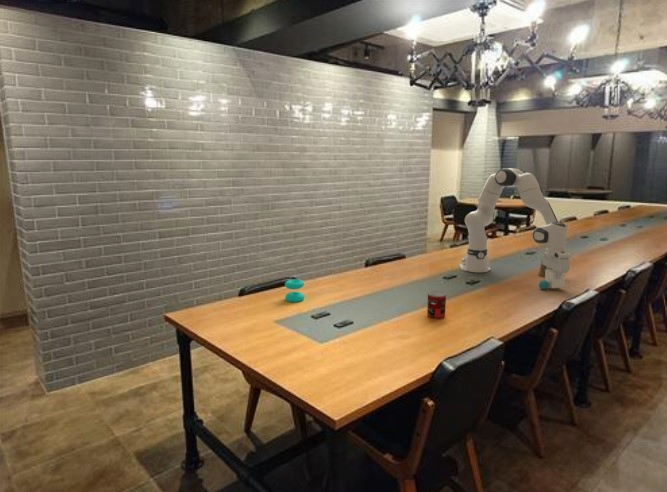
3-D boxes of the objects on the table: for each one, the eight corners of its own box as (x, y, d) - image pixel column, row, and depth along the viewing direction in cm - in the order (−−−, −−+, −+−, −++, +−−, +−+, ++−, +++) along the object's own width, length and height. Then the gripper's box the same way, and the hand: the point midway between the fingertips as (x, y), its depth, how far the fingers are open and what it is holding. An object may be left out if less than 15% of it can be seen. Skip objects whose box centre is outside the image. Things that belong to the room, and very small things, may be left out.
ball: (546, 286, 245) (538, 289, 245) (544, 278, 244) (535, 281, 243) (551, 288, 240) (543, 291, 240) (549, 280, 239) (541, 283, 239)
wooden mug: (556, 279, 261) (559, 250, 258) (535, 275, 272) (537, 246, 269) (564, 277, 266) (567, 248, 263) (543, 273, 277) (545, 245, 274)
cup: (544, 284, 246) (545, 269, 244) (557, 283, 246) (557, 268, 244) (552, 288, 239) (552, 272, 237) (564, 287, 239) (564, 271, 238)
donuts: (292, 277, 234) (307, 280, 228) (293, 295, 236) (308, 298, 230) (280, 282, 225) (296, 284, 220) (281, 300, 227) (296, 304, 222)
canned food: (425, 313, 205) (425, 291, 203) (441, 313, 206) (442, 290, 204) (430, 319, 198) (430, 296, 196) (447, 318, 199) (448, 295, 196)
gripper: (540, 248, 249) (538, 272, 251) (561, 256, 229) (558, 281, 231) (550, 248, 249) (548, 271, 252) (572, 255, 229) (570, 281, 232)
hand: (553, 276), depth 241 cm, fingers closed on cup, 7 cm apart
